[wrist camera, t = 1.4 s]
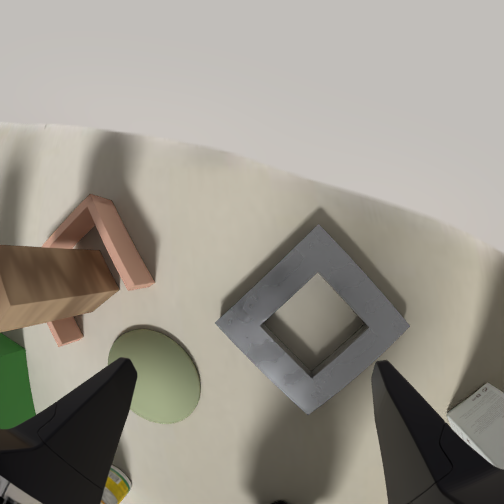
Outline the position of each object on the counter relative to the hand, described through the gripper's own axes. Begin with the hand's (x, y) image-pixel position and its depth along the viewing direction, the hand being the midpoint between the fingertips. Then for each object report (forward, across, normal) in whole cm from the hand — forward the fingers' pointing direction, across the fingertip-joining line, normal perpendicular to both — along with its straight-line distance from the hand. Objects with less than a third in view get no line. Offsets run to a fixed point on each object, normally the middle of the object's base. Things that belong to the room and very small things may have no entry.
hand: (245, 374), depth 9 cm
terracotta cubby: (+14, +18, +4) cm, 23 cm away
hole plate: (+12, -3, +8) cm, 14 cm away
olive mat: (+9, +12, +12) cm, 20 cm away
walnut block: (+14, +18, +4) cm, 23 cm away
